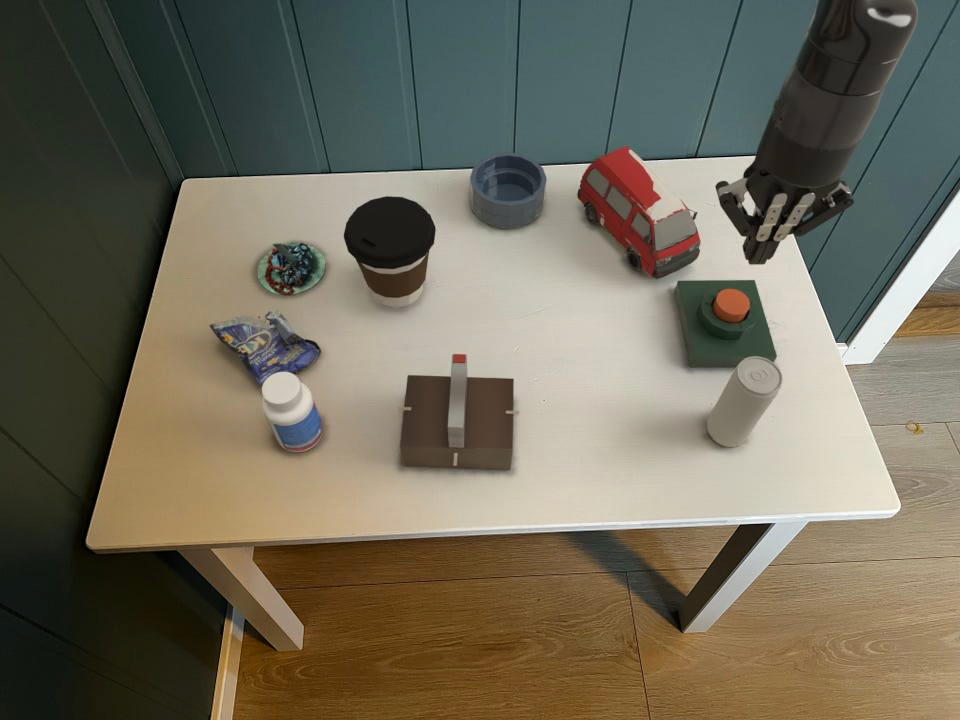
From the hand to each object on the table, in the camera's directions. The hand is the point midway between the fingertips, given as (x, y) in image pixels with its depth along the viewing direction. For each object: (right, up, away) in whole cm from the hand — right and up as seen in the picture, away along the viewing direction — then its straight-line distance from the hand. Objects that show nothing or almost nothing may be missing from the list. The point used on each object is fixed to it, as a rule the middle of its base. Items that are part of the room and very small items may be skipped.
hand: (754, 258), depth 75 cm
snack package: (-54, -10, +15) cm, 57 cm away
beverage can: (0, -19, +9) cm, 21 cm away
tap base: (-31, -19, +9) cm, 37 cm away
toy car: (-7, +6, +26) cm, 28 cm away
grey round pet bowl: (-24, +12, +29) cm, 40 cm away
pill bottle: (-49, -19, +9) cm, 53 cm away
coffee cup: (-39, -1, +21) cm, 44 cm away
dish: (-53, +2, +23) cm, 58 cm away
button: (+2, -4, +14) cm, 15 cm away
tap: (-31, -16, +5) cm, 35 cm away
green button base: (+2, -6, +17) cm, 19 cm away
